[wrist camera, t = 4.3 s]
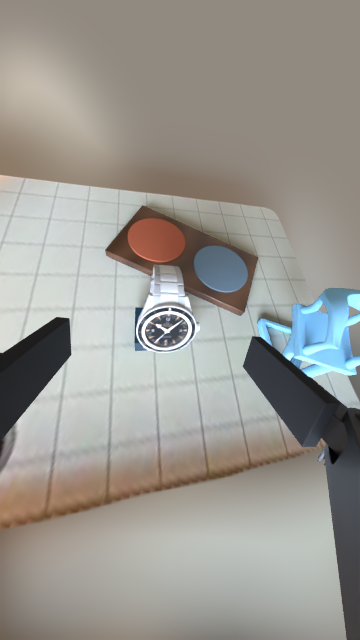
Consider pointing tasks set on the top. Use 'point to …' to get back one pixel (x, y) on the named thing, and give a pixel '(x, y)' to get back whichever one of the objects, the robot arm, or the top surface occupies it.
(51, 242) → the top surface
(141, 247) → the terracotta pad
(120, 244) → the desk board
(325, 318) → the chair
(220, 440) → the top surface
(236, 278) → the slate pad
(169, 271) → the watch
